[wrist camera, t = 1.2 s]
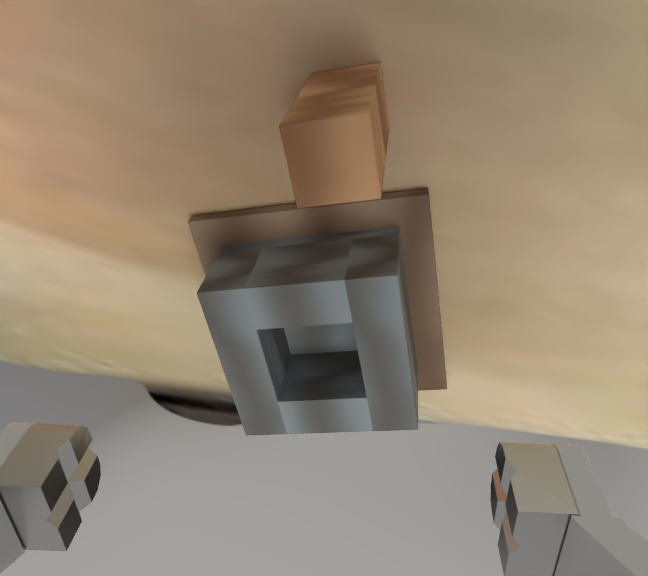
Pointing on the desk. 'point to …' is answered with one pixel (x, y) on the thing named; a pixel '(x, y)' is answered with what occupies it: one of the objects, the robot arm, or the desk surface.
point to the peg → (337, 137)
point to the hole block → (324, 312)
